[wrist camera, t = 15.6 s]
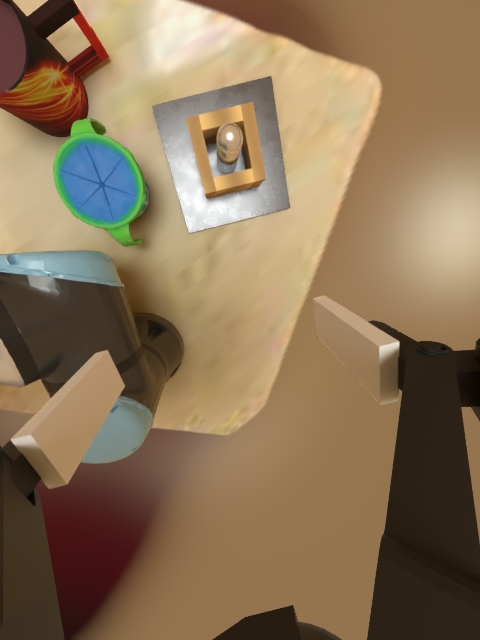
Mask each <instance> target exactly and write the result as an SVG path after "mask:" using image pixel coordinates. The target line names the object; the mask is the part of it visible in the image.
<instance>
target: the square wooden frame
mask: <svg viewBox="0 0 480 640" xmlns="http://www.w3.org/2000/svg"><path fill="white" fill-rule="evenodd" d="M186 121H187V125H188V129H189V133H190V137H191V141H192V145H193V149H194V153H195V157H196V161H197V165H198V169H199V173H200V176H201V180H202V184H203V188H204V192H205V196H206V199H208V198H212V197H216V196H220V195H224V194H228V193H232V192H236V191H241V190H245V189H249V188H253V187H257V186H260V184H261V183H262V182H263V181H264V180H265V179H266V177H265V171H264V164H263V158H262V152H261V146H260V140H259V134H258V128H257V122H256V116H255V110H254V104H253V102H249V103H245V104H241V105H237V106H233V107H229V108H225V109H221V110H217V111H213V112H208V113H204V114H200V115H196V116H192V117H188V118H186ZM228 122H231V123H234V124H236V125H237V126H238V127H239V128H240V129H241V131H242V135H243V144H242V153H243V159H244V164H245V169H246V170H243V171H239V172H235V173H231V174H227V175H223V176H218V177H214V178H213V174H212V170H211V166H210V162H209V157H208V153H207V149H206V145H207V144H211V143H216V142H217V133H218V130H219V128H220V127H221V126H222V125H223V124H225V123H228Z"/></svg>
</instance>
